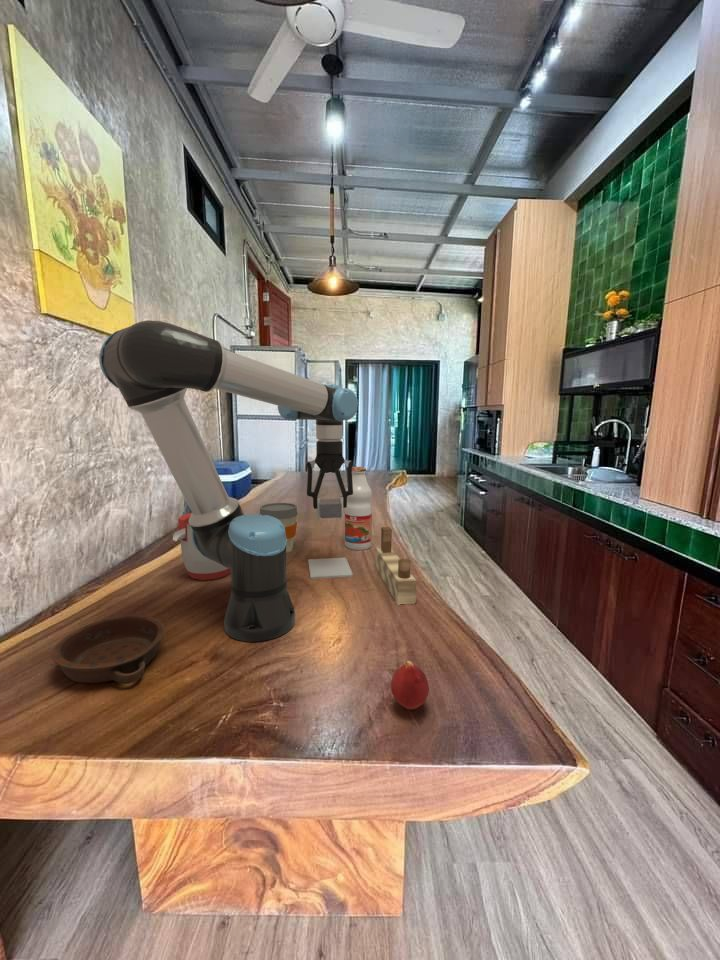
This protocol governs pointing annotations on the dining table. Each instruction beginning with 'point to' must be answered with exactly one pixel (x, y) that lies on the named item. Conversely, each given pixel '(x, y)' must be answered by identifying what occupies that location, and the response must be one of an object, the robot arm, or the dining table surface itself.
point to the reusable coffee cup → (283, 519)
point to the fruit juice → (358, 512)
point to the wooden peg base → (395, 570)
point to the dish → (110, 649)
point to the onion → (410, 686)
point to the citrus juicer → (196, 554)
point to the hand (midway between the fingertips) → (330, 518)
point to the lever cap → (330, 508)
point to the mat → (329, 568)
